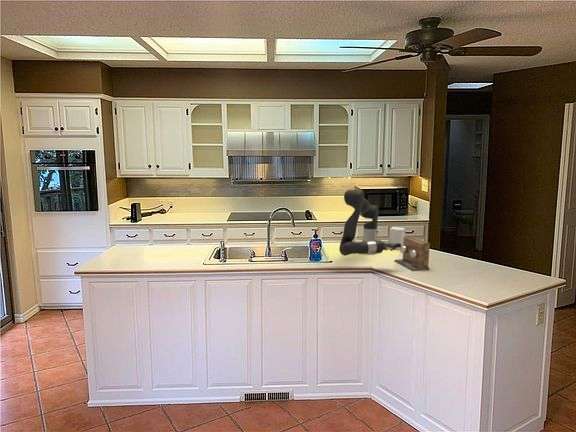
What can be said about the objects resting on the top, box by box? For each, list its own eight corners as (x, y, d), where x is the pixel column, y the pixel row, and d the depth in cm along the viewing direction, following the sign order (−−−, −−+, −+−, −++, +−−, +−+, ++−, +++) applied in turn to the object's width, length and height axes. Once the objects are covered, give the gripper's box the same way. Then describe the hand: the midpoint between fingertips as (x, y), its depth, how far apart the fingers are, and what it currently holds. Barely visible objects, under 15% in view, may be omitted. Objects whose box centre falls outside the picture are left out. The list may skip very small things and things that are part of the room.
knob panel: (412, 270, 256) (413, 244, 253) (394, 261, 277) (395, 237, 274) (429, 269, 258) (430, 243, 256) (410, 260, 279) (411, 236, 277)
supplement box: (404, 248, 315) (405, 227, 312) (401, 250, 307) (401, 229, 305) (392, 246, 319) (393, 226, 317) (388, 248, 312) (389, 228, 310)
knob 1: (403, 253, 269) (403, 246, 269) (399, 252, 274) (400, 245, 273) (414, 253, 271) (415, 246, 271) (411, 251, 275) (411, 244, 275)
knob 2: (413, 258, 258) (413, 251, 257) (409, 256, 262) (409, 249, 261) (425, 257, 260) (425, 250, 259) (421, 255, 264) (421, 248, 263)
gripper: (378, 243, 246) (406, 241, 250) (368, 238, 259) (395, 236, 263) (378, 256, 247) (405, 254, 252) (368, 250, 260) (394, 248, 264)
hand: (400, 245), depth 257 cm, fingers closed
